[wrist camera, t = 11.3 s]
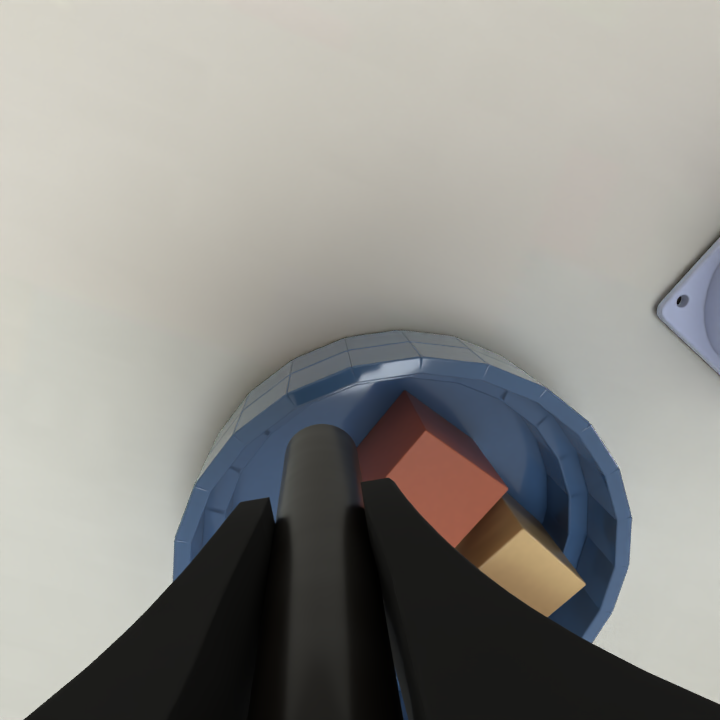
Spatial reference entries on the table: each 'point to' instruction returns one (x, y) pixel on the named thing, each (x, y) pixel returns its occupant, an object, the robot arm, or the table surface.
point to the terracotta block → (431, 467)
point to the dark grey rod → (323, 595)
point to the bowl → (463, 410)
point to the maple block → (521, 557)
